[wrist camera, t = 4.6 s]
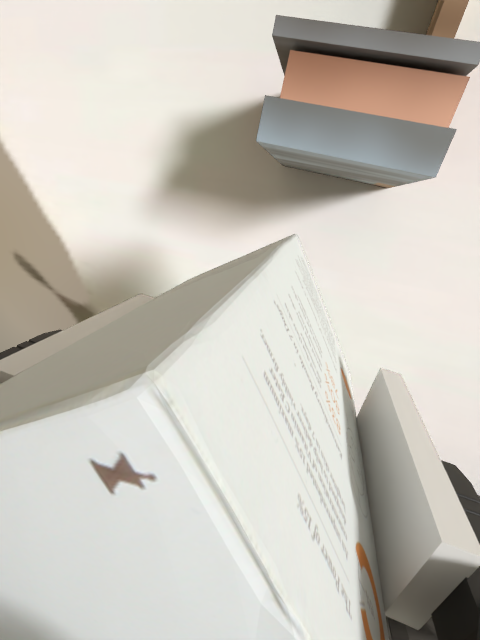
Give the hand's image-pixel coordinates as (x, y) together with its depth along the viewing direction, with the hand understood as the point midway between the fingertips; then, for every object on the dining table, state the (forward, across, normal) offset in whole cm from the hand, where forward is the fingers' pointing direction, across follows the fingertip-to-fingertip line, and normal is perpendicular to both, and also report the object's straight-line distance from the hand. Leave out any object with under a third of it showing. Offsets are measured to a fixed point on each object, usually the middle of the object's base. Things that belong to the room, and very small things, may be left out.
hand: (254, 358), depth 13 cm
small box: (+4, 0, 0) cm, 4 cm away
